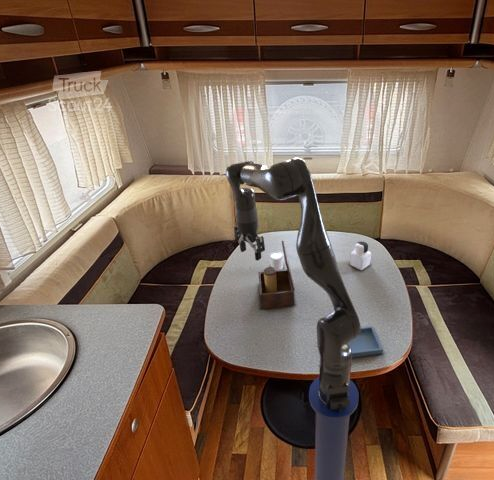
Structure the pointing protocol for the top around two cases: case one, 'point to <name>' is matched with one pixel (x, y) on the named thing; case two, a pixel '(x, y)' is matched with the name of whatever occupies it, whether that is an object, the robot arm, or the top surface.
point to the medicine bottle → (360, 256)
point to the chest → (283, 293)
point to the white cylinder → (276, 260)
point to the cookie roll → (270, 280)
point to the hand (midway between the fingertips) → (250, 255)
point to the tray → (365, 343)
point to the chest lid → (288, 266)
